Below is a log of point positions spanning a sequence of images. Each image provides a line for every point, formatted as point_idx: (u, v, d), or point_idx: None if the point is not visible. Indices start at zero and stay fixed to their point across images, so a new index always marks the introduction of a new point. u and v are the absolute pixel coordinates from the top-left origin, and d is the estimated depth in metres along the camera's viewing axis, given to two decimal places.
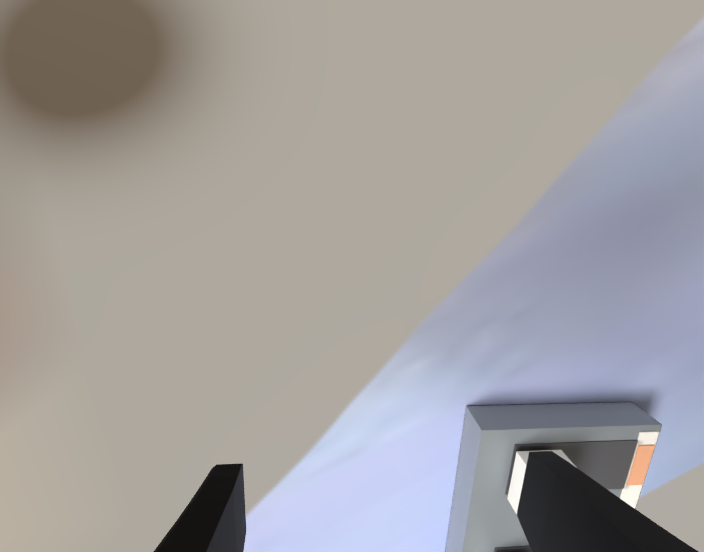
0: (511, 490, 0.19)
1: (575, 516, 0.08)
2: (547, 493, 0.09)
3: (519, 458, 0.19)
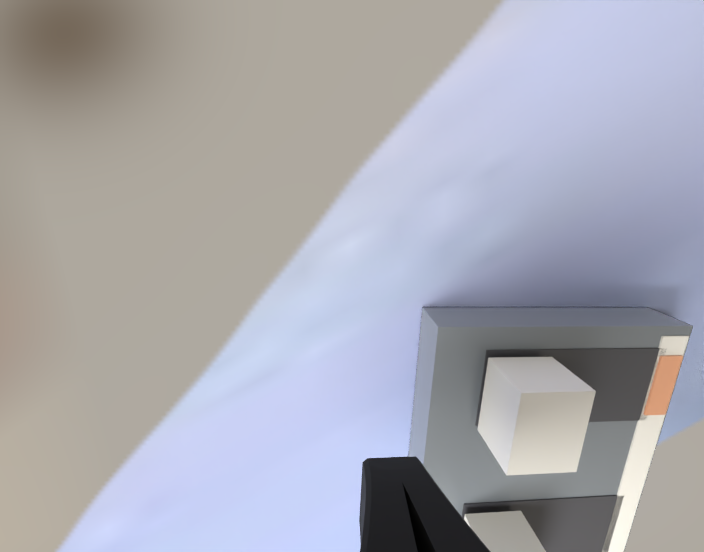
0: (482, 415, 0.14)
1: None
2: None
3: (492, 366, 0.13)
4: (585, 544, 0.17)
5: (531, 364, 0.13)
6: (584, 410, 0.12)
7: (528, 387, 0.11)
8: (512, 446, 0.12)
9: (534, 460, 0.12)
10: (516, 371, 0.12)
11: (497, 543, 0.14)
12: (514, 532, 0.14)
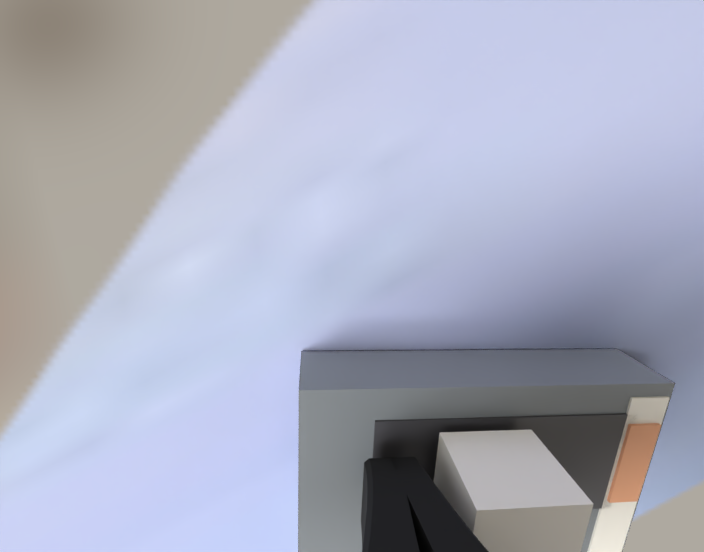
0: None
1: None
2: None
3: (443, 447, 0.09)
4: None
5: (500, 446, 0.09)
6: (576, 531, 0.08)
7: (490, 497, 0.07)
8: None
9: None
10: (476, 460, 0.08)
11: None
12: None
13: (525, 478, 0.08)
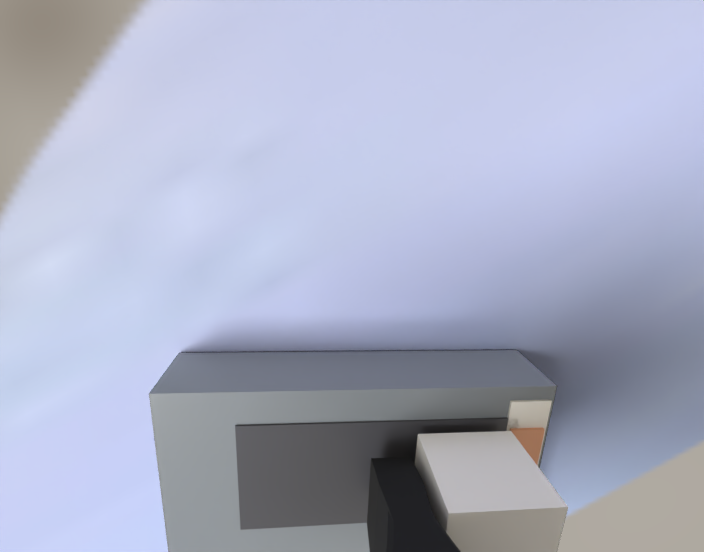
0: None
1: (386, 527, 0.07)
2: (376, 502, 0.08)
3: (420, 448, 0.09)
4: None
5: (478, 447, 0.09)
6: (550, 534, 0.07)
7: (463, 499, 0.07)
8: None
9: None
10: (452, 462, 0.08)
11: None
12: None
13: (500, 480, 0.08)
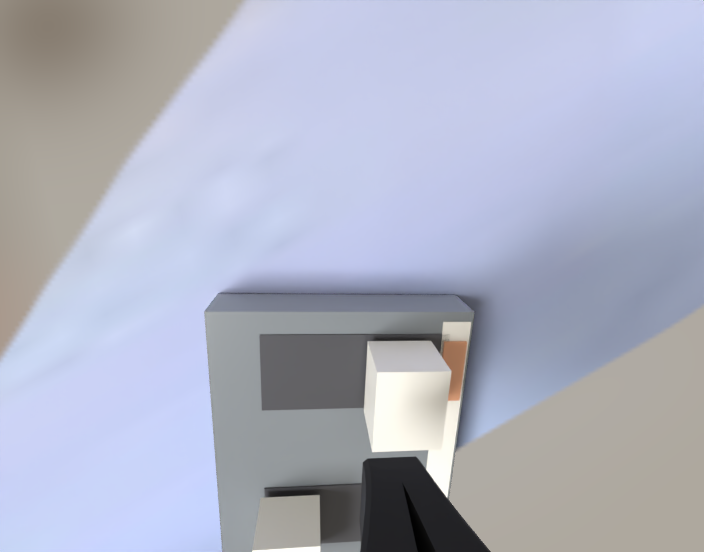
0: (365, 397, 0.14)
1: None
2: None
3: (368, 349, 0.13)
4: None
5: (405, 347, 0.13)
6: (442, 390, 0.12)
7: (387, 367, 0.12)
8: (374, 424, 0.12)
9: (398, 437, 0.12)
10: (386, 353, 0.13)
11: (275, 525, 0.14)
12: (299, 515, 0.15)
13: (414, 360, 0.12)
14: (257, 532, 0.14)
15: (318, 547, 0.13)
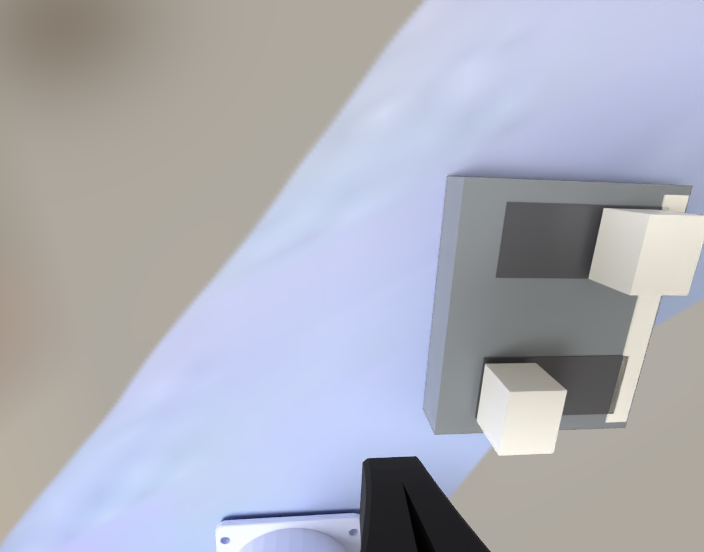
0: (595, 263, 0.16)
1: None
2: None
3: (609, 212, 0.15)
4: (593, 404, 0.18)
5: (644, 210, 0.15)
6: (700, 234, 0.14)
7: (653, 213, 0.13)
8: (637, 266, 0.14)
9: (654, 281, 0.14)
10: (634, 210, 0.14)
11: (516, 378, 0.16)
12: (530, 373, 0.16)
13: (668, 212, 0.14)
14: (503, 382, 0.15)
15: (565, 391, 0.15)
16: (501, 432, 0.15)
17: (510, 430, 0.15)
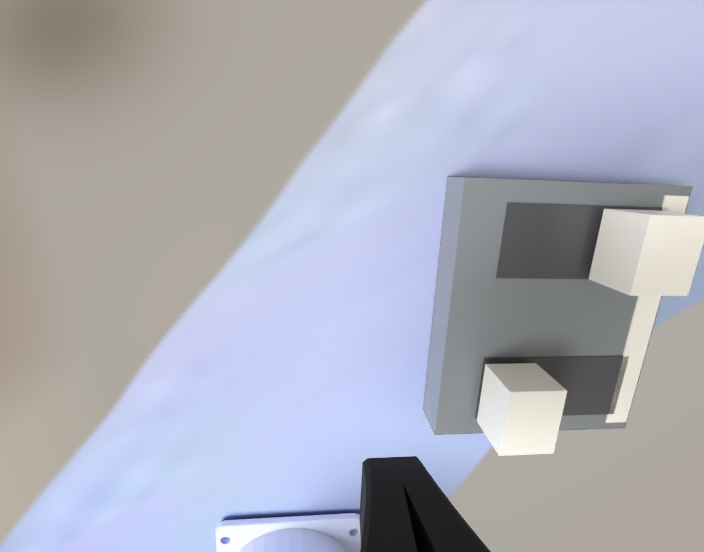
0: (595, 263, 0.16)
1: None
2: None
3: (609, 213, 0.15)
4: (593, 405, 0.18)
5: (644, 210, 0.15)
6: (700, 235, 0.14)
7: (653, 214, 0.13)
8: (638, 266, 0.14)
9: (654, 282, 0.14)
10: (634, 211, 0.14)
11: (516, 379, 0.16)
12: (531, 374, 0.16)
13: (668, 213, 0.14)
14: (503, 382, 0.15)
15: (565, 391, 0.15)
16: (501, 432, 0.15)
17: (510, 430, 0.15)
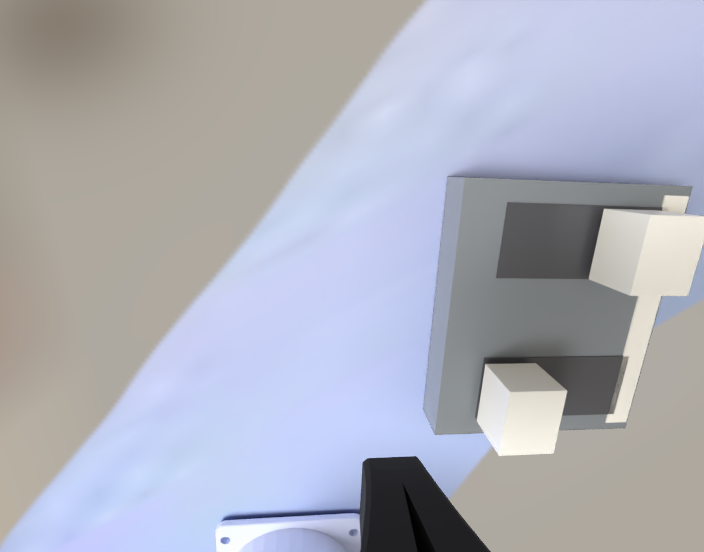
0: (595, 263, 0.16)
1: None
2: None
3: (609, 213, 0.15)
4: (593, 405, 0.18)
5: (644, 210, 0.15)
6: (700, 235, 0.14)
7: (653, 214, 0.13)
8: (638, 266, 0.14)
9: (654, 282, 0.14)
10: (634, 211, 0.14)
11: (516, 379, 0.16)
12: (531, 374, 0.16)
13: (668, 213, 0.14)
14: (503, 382, 0.15)
15: (565, 391, 0.15)
16: (501, 432, 0.15)
17: (510, 430, 0.15)
